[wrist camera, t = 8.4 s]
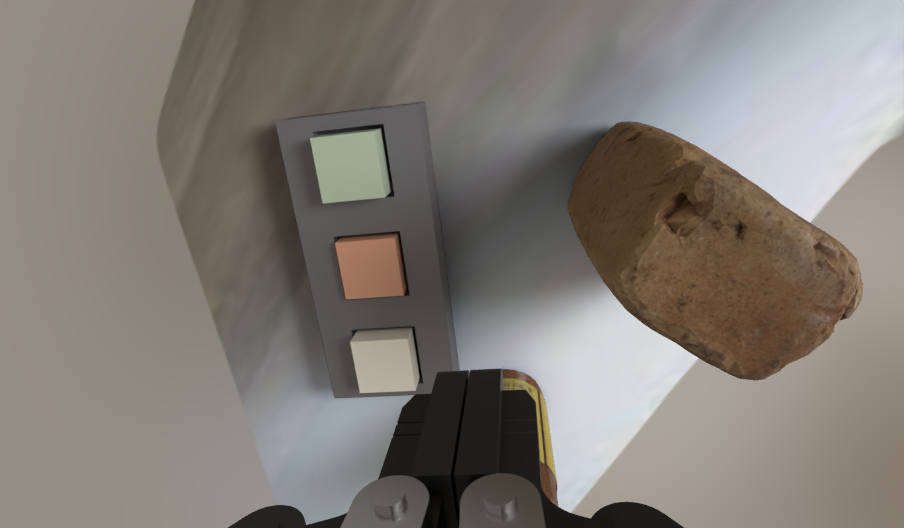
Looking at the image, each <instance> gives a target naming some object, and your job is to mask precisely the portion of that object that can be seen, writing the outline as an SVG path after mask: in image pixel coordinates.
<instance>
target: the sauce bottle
mask: <svg viewBox="0 0 904 528" xmlns="http://www.w3.org/2000/svg"><path fill="white" fill-rule="evenodd" d="M502 372H503V380H504V390H524V389H526V390H527V392H528V393H529V394H530V396H531V397H532V398H533V399H534V401H535V402H536V411H537V423H538V436H539V448H540V461H541V477H542V489H543V492H544V493H545V495H546V496H547V498H548V499H549V500H550V501H551V502H552V503H554V504H555V505H556V506H558V501H557V480H556V473H555V466H554V458H553V451H552V443H551V436H550V429H549V421H548V414H547V407H546V402H545V399H544V397H543V394H542V392H541V390H540V388H539V386H538V384H537V383H536V381H535V380H534V379H532V378H531V377H530V376H528V375H526V374H524V373H521V372H517V371H514V370H502Z"/></svg>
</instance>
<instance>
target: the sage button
mask: <svg viewBox="0 0 904 528" xmlns="http://www.w3.org/2000/svg"><path fill="white" fill-rule="evenodd" d="M310 142H311V147H312V152H313V157H314V162H315V167H316V172H317V177H318V182H319V188H320V193H321V198H322V203H333V202H344V201H354V200H364V199H375V198H385V197H386V196H387V195H388V194H389V193H390V192H391V187H390V180H389V174H388V167H387V161H386V154H385V148H384V141H383V135H382V129H381V128H378V129H369V130H361V131H352V132H343V133H334V134H326V135H319V136H316V137H313V138H310Z"/></svg>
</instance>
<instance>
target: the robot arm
mask: <svg viewBox="0 0 904 528" xmlns="http://www.w3.org/2000/svg"><path fill="white" fill-rule="evenodd" d="M397 423H398V425H396V428H395V431H394V434H393V438H392V440H391V443H390V446H389V449H388V452H387V455H386V458H385V461H384V464H383V467H382V470H381V473H380V476H379V478H378V480H376V481H374V482H372V483H370V484H368V485H367V486H366V487H364V488H363V489H362V490H361V491H360V492H359V493H358V494H357V495H356V497H355V499H354V500H353V502H352V504H351V506H350V509H349V511H348V513H346V514H344V515H341V516H338V517H335V518H332V519H328V520H324V521H320V522H317V523H313V524H309V525H306V523H305V519H304V517H303V515H302V513H301V512H300V511H299V510H297V509H296V508H294V507H291V506H286V505H275V506H270V507H265V508H262V509H259V510H257V511H255V512H253V513H251V514H249V515H247V516H245V517H244V518H242V519H241V520H239V521H238V522H236V523H235V524H233V525H231V526H230V527H228V528H684V527H682V526H681V525H679V524H678V523H676V522H675V521H673V520H672V519H671V518H669V517H668V516H667V515H665V514H663V513H662V512H660V511H659V510H657V509H655V508H652V507H650V506H647V505H644V504H640V503H634V502H619V503H613V504H610V505H607V506H605V507H603V508H601V509H600V510H599V511H597V512H596V513H595V514H594V515H593V516H592V518H591V519H590V518H586V517H582V516H578V515H575V514H572V513H569V512H567V511H565V510H562V509H561V508H559V507H558V506H556V505H555V504H554V503H552V502H551V501H550V500H549V499H548V498H547V496H546V495H545V493H544V492H543V489H542V477H541V461H540V448H539V436H538V423H537V411H536V402H535V401H534V399H533V398H532V397H531V396H530V394H529V393H528V392H527V390H526V389H524V390H504V380H503V372H502V369H484V370H471V371H470V373H469V371H468V370H466V371H445V372H437V374H436V378H435V382H434V385H433V389H432V393H431V394H415V395H414V396H413V398H412V399H411V400H410V401H409V402H408V403H407V404H406V405H405V406H404V407H403V408H402V411H401V414H400V417H399V420H398V422H397Z"/></svg>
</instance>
